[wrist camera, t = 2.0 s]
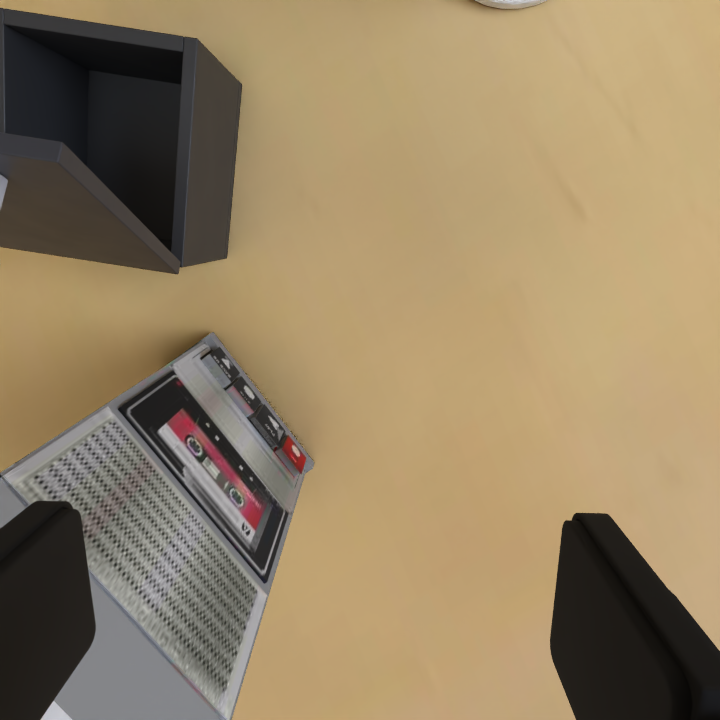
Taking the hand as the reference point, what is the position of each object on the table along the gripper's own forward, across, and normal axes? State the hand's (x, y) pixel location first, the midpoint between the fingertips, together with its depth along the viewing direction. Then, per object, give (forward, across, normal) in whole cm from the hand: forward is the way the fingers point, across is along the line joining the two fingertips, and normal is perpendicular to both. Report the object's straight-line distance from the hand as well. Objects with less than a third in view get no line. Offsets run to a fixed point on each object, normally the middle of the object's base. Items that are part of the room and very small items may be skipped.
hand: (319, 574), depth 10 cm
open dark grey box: (+33, +16, -11) cm, 38 cm away
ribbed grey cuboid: (+34, +10, +9) cm, 36 cm away
